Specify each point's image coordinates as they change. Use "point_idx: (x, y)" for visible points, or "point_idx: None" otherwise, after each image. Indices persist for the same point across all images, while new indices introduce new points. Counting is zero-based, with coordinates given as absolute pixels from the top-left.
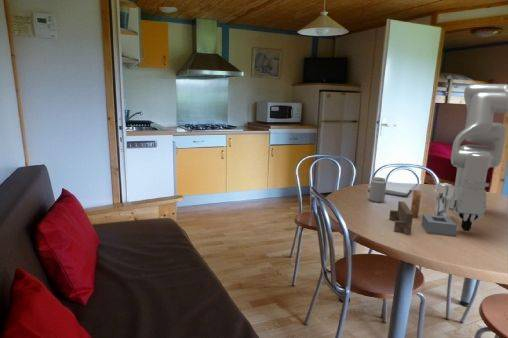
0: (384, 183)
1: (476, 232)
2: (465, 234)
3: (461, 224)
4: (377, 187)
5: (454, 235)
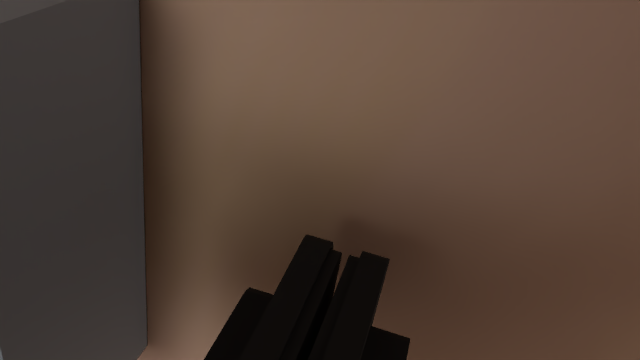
0: None
1: (636, 236)
2: None
3: (233, 311)
4: None
5: (135, 347)
